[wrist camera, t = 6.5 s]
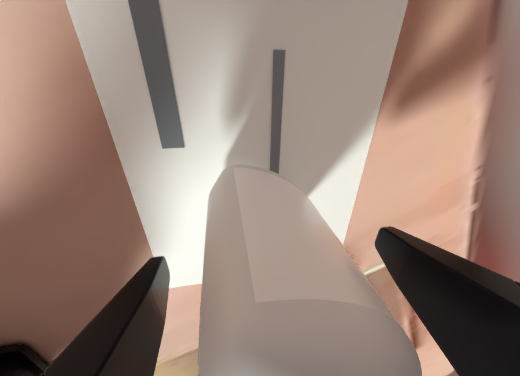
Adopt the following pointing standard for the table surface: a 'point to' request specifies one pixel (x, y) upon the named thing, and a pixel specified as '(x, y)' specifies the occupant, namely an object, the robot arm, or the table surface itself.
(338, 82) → the paper sheet
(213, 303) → the white plastic bottle
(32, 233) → the table surface
